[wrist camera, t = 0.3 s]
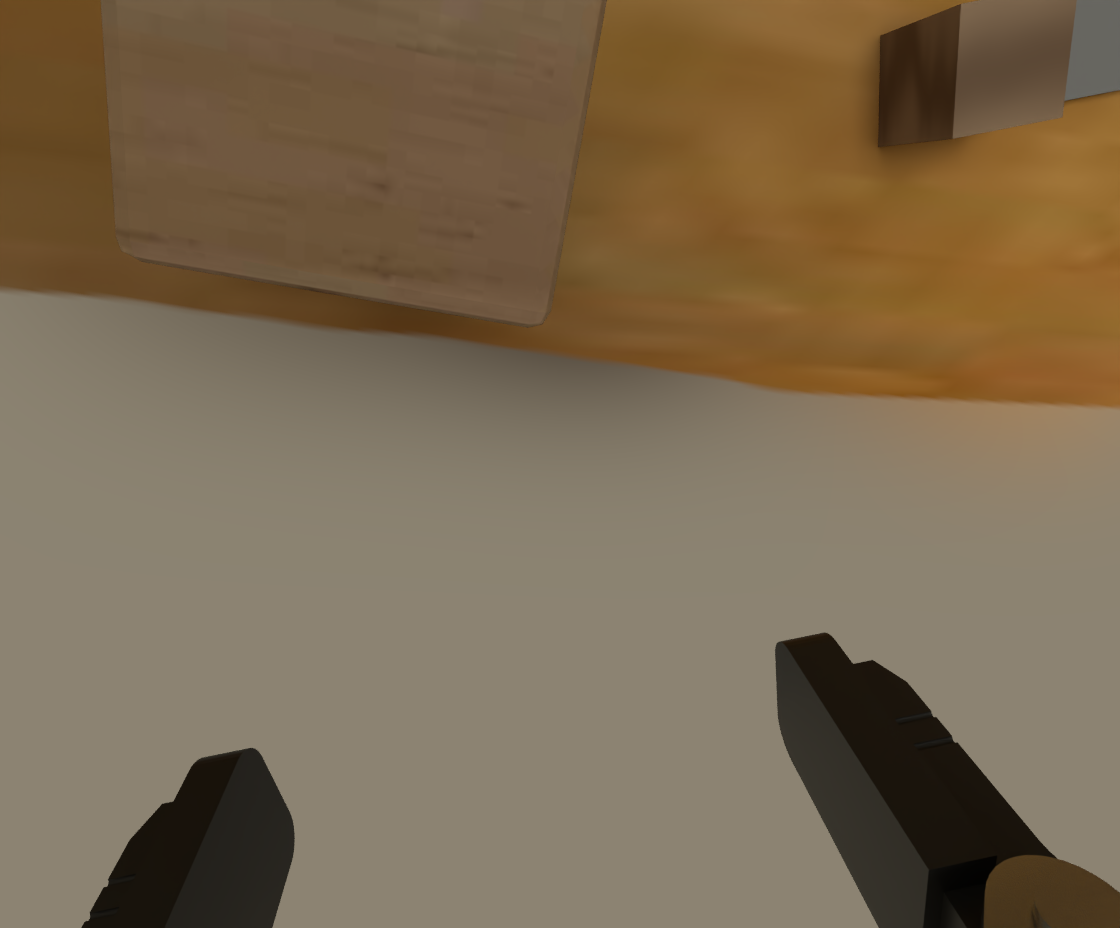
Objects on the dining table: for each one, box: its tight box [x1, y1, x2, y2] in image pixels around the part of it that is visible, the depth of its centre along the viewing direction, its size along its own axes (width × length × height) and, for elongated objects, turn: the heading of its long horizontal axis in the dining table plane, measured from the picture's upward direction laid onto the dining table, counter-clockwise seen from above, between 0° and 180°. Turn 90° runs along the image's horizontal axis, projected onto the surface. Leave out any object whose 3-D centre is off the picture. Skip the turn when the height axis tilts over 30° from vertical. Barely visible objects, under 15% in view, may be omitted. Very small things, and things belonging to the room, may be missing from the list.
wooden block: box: [101, 0, 607, 327], centre depth 22 cm, size 10×10×20 cm
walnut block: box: [878, 0, 1077, 147], centre depth 30 cm, size 5×5×6 cm
